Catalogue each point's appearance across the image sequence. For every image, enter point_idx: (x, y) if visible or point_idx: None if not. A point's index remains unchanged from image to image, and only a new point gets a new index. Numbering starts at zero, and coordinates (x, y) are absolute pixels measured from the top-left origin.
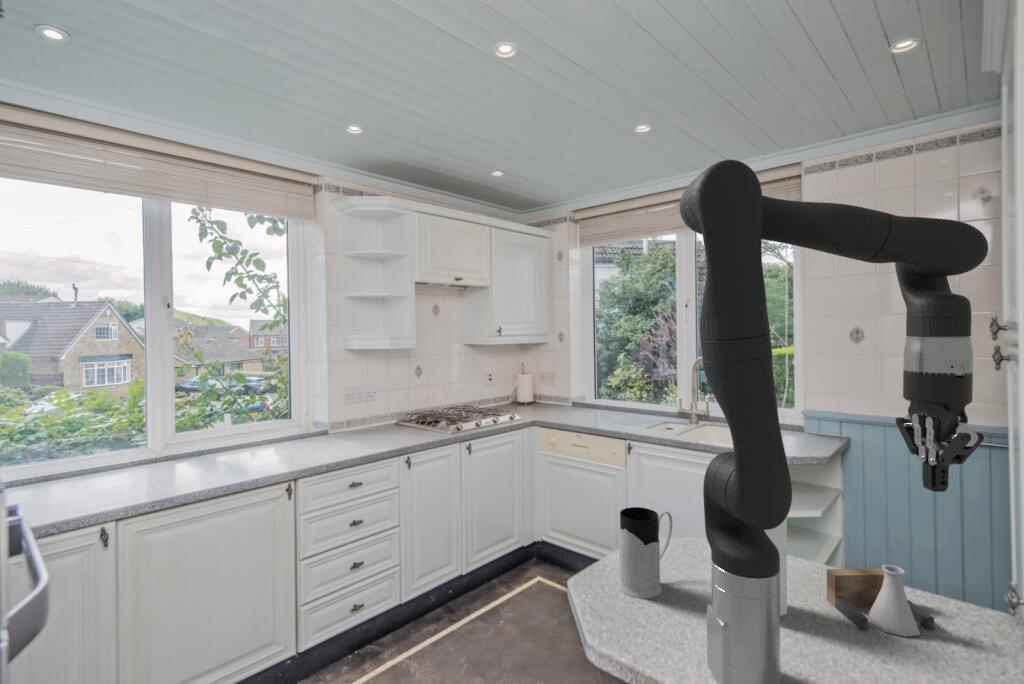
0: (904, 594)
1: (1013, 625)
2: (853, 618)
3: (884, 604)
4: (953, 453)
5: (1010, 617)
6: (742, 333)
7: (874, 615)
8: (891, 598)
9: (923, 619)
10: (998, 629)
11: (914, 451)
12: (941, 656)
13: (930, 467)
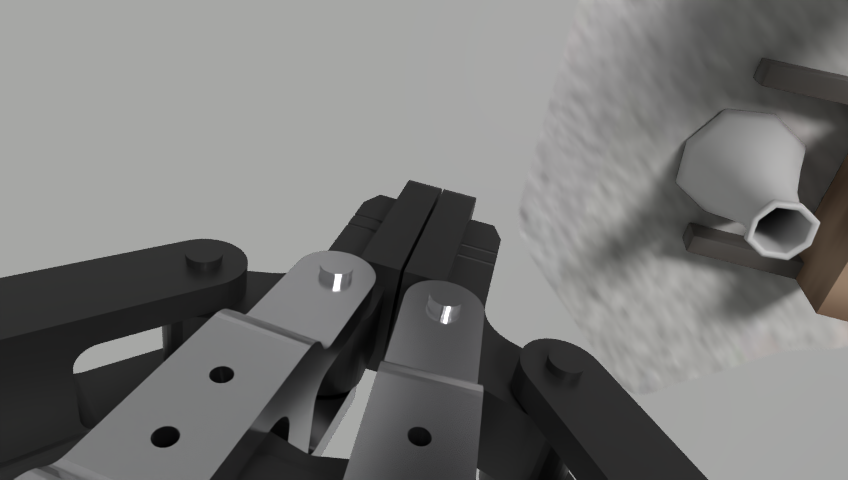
0: (730, 208)
1: None
2: (799, 68)
3: (756, 152)
4: (22, 276)
5: None
6: None
7: (770, 127)
8: (746, 170)
9: (703, 233)
10: (628, 356)
11: (539, 356)
12: (602, 152)
13: (373, 250)
